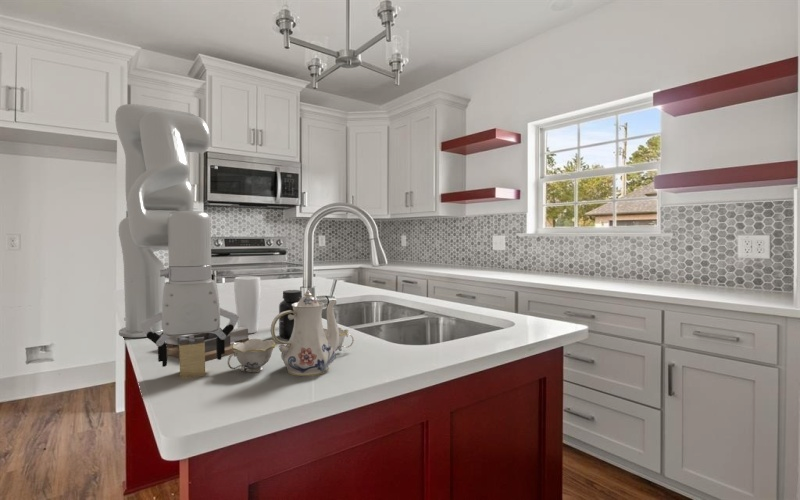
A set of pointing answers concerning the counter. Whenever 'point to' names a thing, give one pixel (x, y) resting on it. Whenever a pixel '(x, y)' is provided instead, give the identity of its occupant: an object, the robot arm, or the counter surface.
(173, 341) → the shaft rig
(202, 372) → the block
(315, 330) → the chinaware
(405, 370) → the counter surface
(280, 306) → the supplement bottle
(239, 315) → the drinking glass
